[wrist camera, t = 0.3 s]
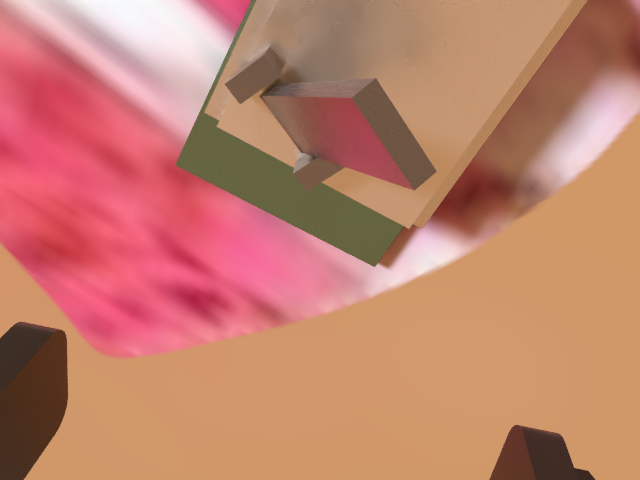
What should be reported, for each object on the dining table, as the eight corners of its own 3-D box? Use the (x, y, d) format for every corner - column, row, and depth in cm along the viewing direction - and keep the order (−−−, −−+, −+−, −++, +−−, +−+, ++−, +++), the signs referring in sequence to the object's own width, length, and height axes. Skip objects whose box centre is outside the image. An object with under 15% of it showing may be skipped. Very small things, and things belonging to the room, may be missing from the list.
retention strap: (314, 139, 27) (298, 152, 27) (273, 83, 26) (257, 96, 26) (438, 170, 16) (412, 191, 16) (377, 76, 15) (349, 99, 15)
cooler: (418, -354, 23) (447, -477, 16) (669, -166, 26) (796, -198, 18) (180, 157, 34) (131, 225, 26) (374, 256, 36) (378, 345, 29)
